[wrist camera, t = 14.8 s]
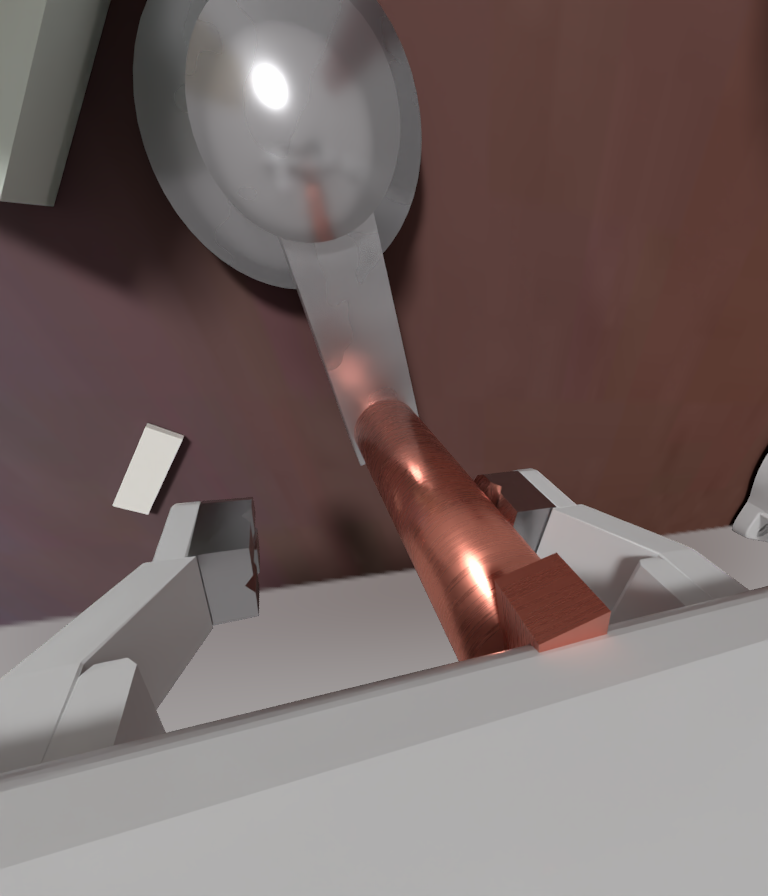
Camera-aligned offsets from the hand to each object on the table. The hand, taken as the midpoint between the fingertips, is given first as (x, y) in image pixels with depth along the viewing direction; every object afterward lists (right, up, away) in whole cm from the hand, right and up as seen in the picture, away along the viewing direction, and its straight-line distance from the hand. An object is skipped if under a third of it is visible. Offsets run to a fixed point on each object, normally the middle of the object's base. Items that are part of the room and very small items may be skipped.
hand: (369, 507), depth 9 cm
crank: (-1, +6, +3) cm, 7 cm away
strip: (-8, +1, +5) cm, 10 cm away
